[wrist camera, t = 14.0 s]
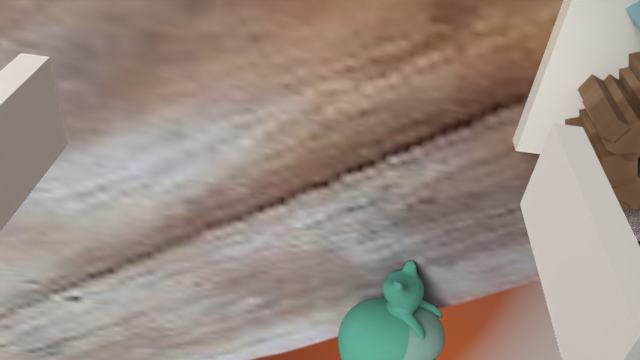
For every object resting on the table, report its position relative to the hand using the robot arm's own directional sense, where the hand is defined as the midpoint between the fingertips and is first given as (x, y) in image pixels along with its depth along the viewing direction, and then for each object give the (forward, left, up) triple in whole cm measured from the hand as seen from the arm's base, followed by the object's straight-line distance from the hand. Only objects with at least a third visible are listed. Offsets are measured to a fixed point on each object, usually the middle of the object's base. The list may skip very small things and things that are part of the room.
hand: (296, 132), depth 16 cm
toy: (+30, +8, -24) cm, 39 cm away
